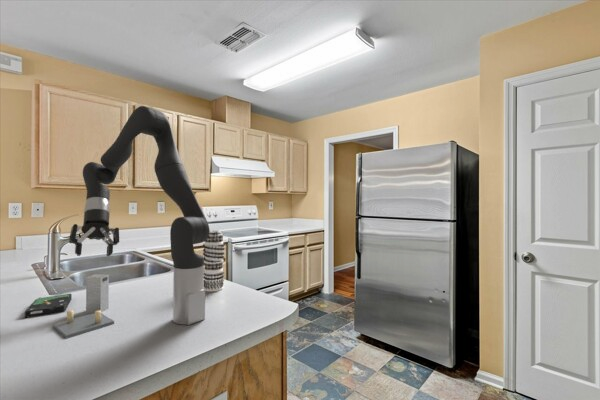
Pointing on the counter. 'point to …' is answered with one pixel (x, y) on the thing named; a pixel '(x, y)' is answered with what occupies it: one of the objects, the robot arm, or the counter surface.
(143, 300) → the counter surface
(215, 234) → the decorative candle
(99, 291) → the grey upright block
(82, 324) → the grey plate with pegs
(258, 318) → the counter surface
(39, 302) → the disk drive
